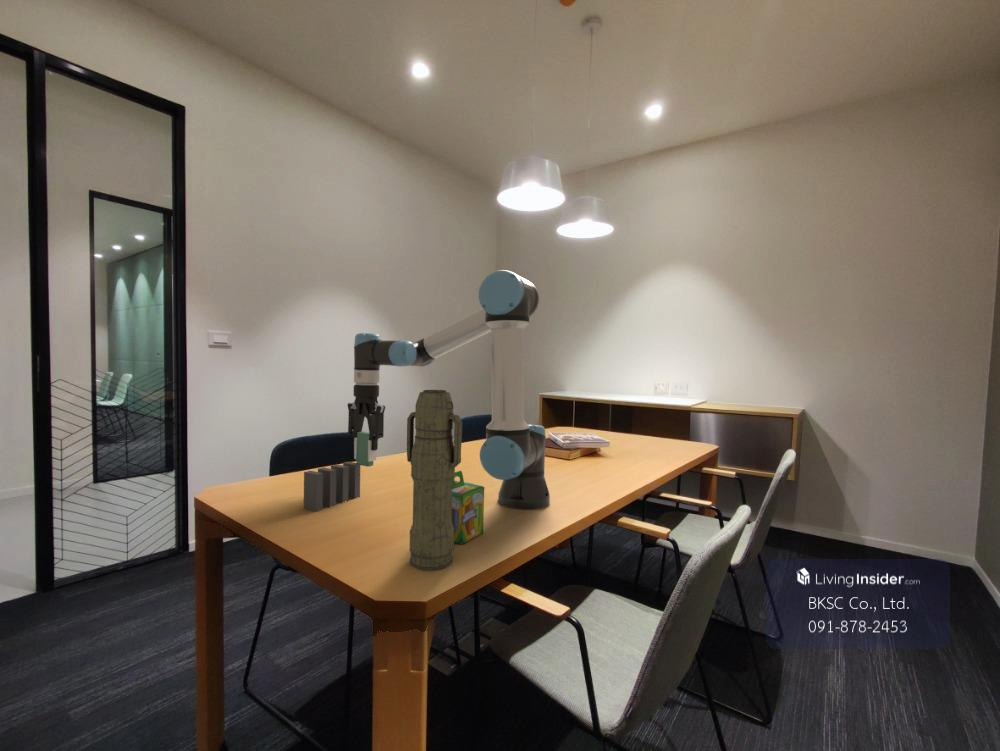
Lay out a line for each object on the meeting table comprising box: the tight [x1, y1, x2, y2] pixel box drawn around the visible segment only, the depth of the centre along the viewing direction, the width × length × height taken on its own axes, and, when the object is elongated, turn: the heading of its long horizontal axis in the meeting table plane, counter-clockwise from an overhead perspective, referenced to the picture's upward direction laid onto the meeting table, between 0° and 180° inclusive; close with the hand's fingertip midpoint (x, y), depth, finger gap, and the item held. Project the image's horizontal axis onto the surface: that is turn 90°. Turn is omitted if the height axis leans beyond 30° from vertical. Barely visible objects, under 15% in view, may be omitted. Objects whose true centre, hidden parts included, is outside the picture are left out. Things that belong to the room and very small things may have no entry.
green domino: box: [356, 431, 374, 468], centre depth 138 cm, size 2×5×10 cm, turn 61°
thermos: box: [406, 389, 463, 572], centre depth 91 cm, size 9×12×35 cm
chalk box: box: [452, 470, 485, 545], centre depth 106 cm, size 9×9×15 cm
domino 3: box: [330, 464, 349, 503], centre depth 129 cm, size 2×5×10 cm, turn 62°
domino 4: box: [342, 461, 361, 499], centre depth 133 cm, size 2×5×10 cm, turn 62°
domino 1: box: [303, 470, 323, 513], centre depth 121 cm, size 2×5×10 cm, turn 61°
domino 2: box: [317, 467, 337, 508], centre depth 125 cm, size 2×5×10 cm, turn 62°
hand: (365, 459), depth 138 cm, fingers closed on green domino, 5 cm apart
